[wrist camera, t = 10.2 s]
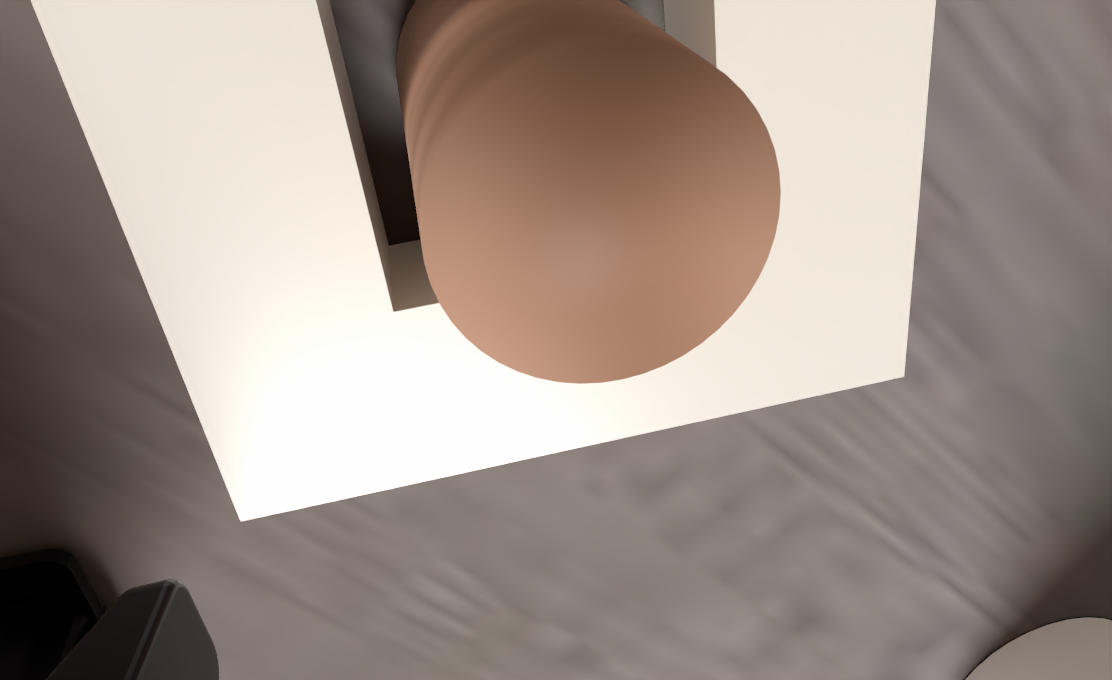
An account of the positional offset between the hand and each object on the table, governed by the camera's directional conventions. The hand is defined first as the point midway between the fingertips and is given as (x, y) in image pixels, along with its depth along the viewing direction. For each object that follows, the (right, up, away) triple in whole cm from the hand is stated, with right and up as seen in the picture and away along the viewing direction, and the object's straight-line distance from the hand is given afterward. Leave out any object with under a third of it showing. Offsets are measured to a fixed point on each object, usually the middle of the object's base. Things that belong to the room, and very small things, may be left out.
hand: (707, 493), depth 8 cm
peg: (-2, +7, +10) cm, 12 cm away
